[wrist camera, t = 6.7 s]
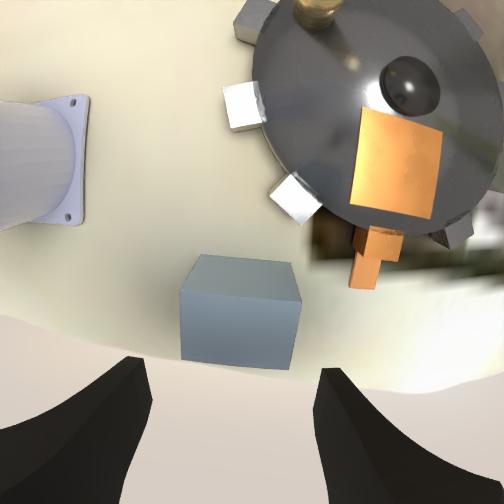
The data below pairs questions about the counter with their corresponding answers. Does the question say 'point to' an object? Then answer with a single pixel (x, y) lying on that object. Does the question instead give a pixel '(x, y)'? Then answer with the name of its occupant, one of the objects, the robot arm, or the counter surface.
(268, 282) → the link block
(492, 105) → the sprocket
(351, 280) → the timing pointer
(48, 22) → the counter surface
